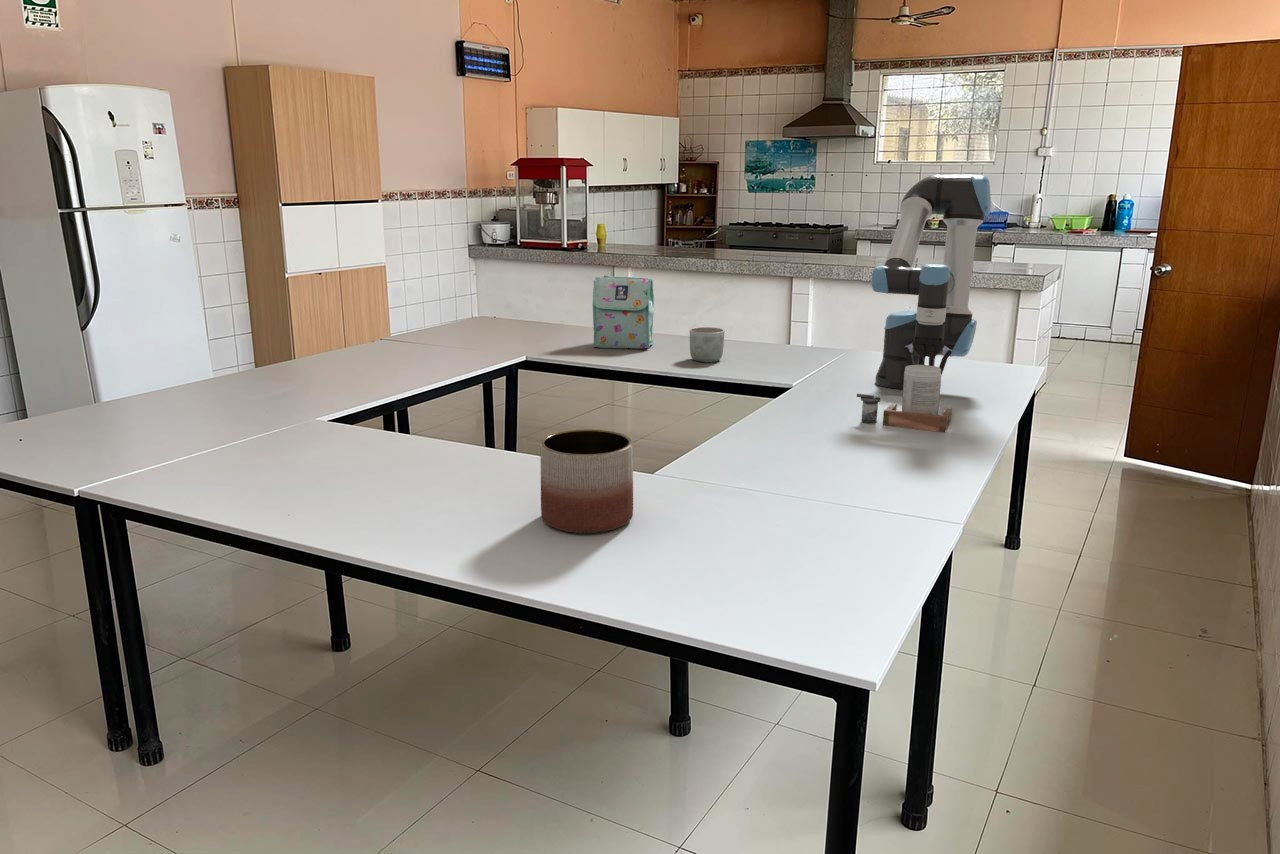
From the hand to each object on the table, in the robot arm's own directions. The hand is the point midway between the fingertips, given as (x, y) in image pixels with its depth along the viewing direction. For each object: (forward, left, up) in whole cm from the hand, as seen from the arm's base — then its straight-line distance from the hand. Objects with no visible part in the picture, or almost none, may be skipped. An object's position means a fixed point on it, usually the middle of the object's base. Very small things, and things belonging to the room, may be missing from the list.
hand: (922, 407), depth 254 cm
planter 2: (-46, -81, -3) cm, 93 cm away
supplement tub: (+6, 0, -3) cm, 7 cm away
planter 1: (+109, -48, -3) cm, 119 cm away
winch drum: (+13, -12, -2) cm, 18 cm away
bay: (+9, 0, -2) cm, 9 cm away
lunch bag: (-57, -119, -3) cm, 132 cm away
